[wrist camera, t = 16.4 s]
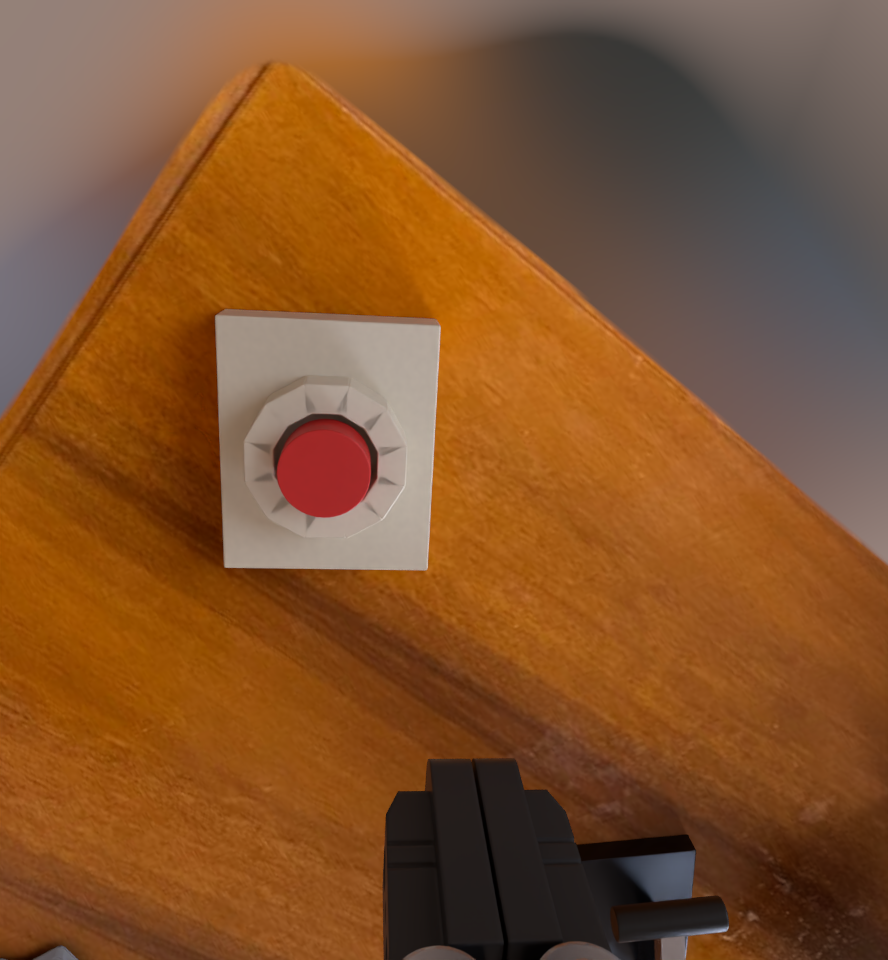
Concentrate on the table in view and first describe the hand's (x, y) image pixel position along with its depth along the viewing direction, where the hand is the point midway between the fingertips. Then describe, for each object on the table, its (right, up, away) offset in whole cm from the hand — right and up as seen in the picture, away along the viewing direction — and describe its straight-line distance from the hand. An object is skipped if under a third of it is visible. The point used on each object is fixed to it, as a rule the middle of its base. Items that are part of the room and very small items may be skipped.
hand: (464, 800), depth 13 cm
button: (-5, +6, +18) cm, 20 cm away
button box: (-5, +7, +22) cm, 23 cm away
